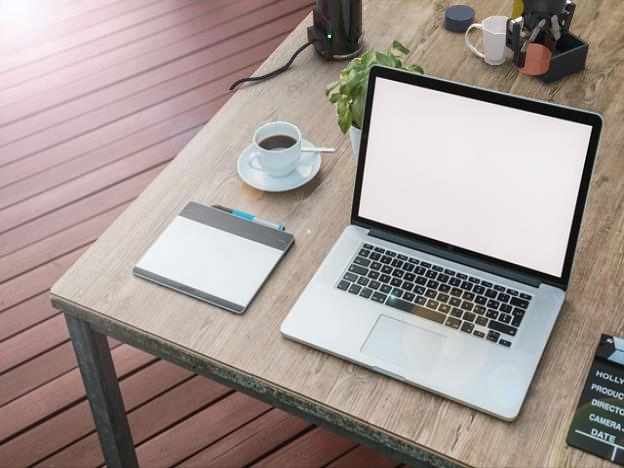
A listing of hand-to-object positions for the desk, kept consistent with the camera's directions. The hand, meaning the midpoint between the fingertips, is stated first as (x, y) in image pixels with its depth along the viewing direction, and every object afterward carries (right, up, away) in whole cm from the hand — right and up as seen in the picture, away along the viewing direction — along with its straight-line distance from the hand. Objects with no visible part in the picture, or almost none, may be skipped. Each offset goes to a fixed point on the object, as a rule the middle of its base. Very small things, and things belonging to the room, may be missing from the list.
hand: (533, 60), depth 156 cm
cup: (-5, +4, +15) cm, 17 cm away
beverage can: (+5, +11, +22) cm, 25 cm away
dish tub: (+7, +2, +13) cm, 14 cm away
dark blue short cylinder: (-9, +13, +25) cm, 29 cm away
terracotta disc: (0, -1, +1) cm, 1 cm away
